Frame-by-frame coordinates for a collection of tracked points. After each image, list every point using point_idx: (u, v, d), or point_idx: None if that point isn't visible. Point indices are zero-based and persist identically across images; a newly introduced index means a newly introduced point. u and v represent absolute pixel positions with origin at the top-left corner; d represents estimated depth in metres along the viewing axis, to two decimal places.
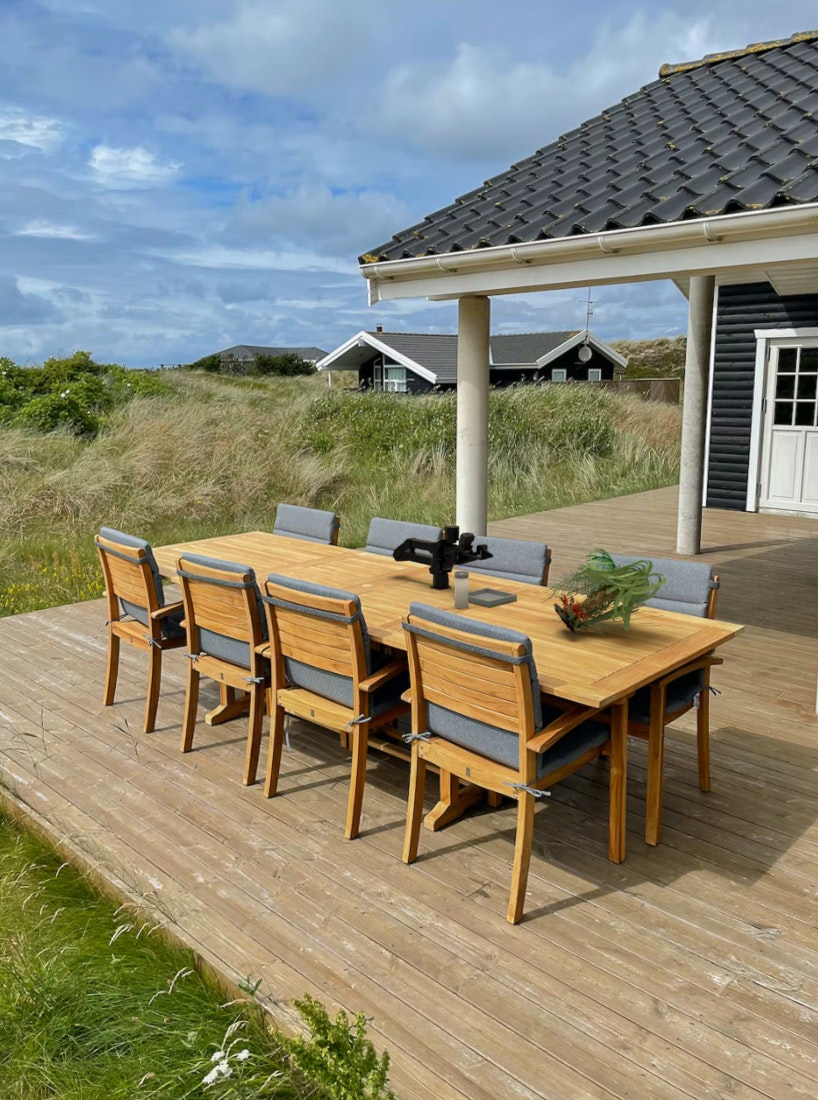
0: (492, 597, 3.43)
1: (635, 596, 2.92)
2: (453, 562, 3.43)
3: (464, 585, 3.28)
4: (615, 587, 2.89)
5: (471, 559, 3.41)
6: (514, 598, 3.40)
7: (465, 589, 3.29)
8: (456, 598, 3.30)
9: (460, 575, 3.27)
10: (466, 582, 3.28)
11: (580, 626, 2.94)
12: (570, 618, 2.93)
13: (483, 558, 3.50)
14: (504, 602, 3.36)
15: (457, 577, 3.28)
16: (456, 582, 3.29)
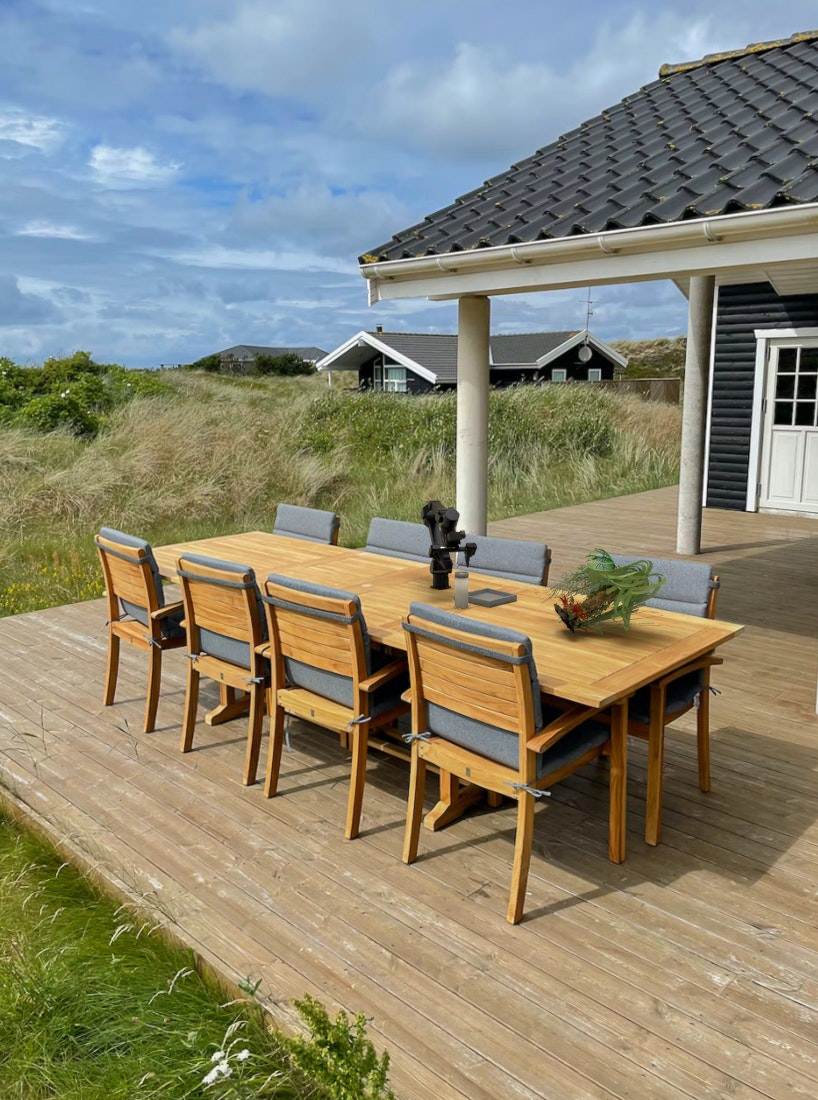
0: (492, 597, 3.43)
1: (635, 596, 2.92)
2: (429, 554, 3.41)
3: (464, 585, 3.28)
4: (615, 587, 2.89)
5: (442, 564, 3.38)
6: (514, 598, 3.40)
7: (465, 589, 3.29)
8: (456, 598, 3.30)
9: (460, 575, 3.27)
10: (466, 582, 3.28)
11: (580, 626, 2.94)
12: (570, 618, 2.93)
13: (465, 558, 3.43)
14: (504, 602, 3.36)
15: (457, 577, 3.28)
16: (456, 582, 3.29)
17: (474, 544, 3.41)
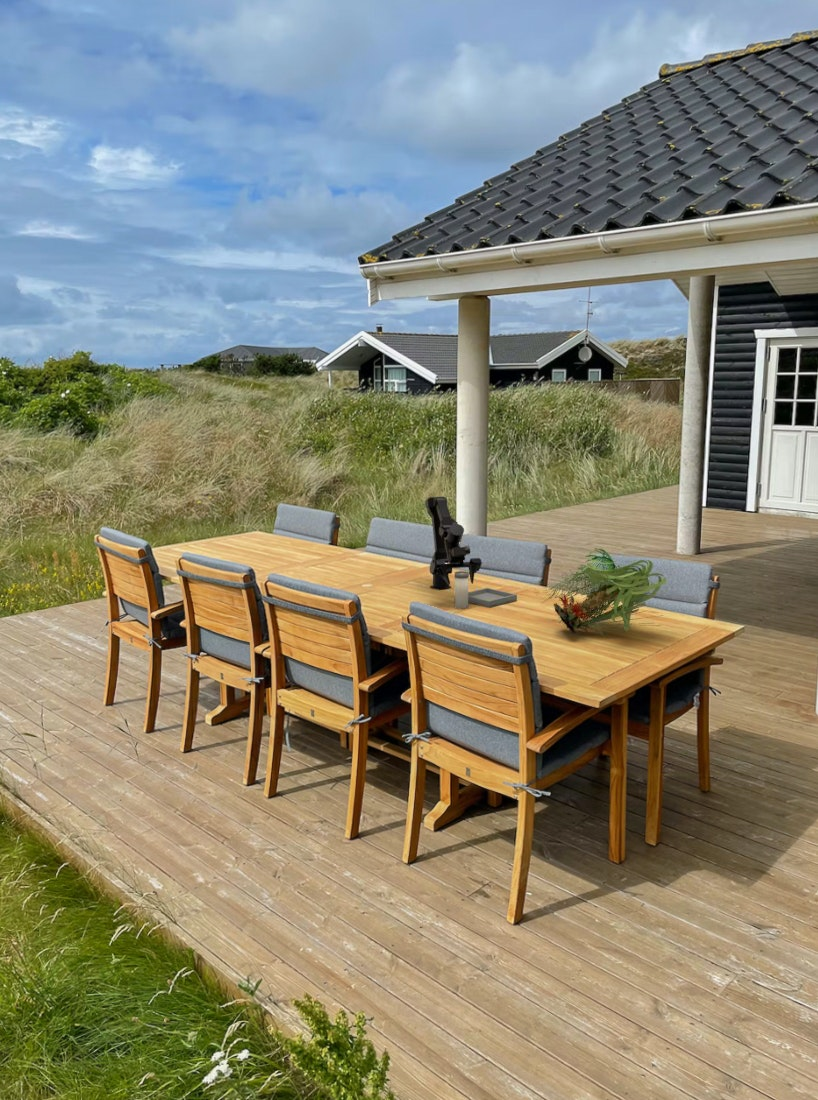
0: (492, 597, 3.43)
1: (635, 596, 2.92)
2: (432, 570, 3.35)
3: (464, 585, 3.28)
4: (615, 587, 2.89)
5: (446, 580, 3.32)
6: (514, 598, 3.40)
7: (466, 589, 3.29)
8: (456, 598, 3.30)
9: (460, 575, 3.27)
10: (466, 582, 3.28)
11: (580, 626, 2.94)
12: (570, 618, 2.93)
13: (469, 574, 3.37)
14: (504, 602, 3.36)
15: (457, 577, 3.28)
16: (456, 582, 3.29)
17: (479, 560, 3.35)
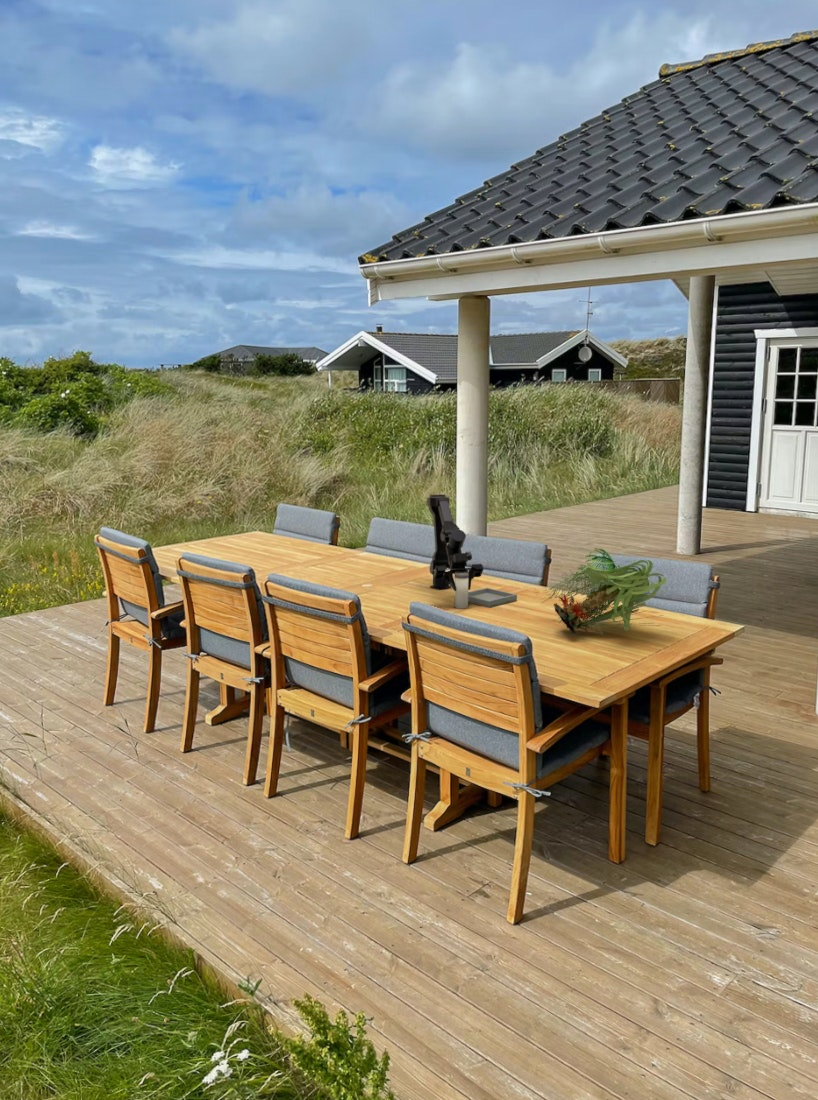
0: (492, 597, 3.43)
1: (635, 596, 2.92)
2: (434, 575, 3.34)
3: (464, 585, 3.28)
4: (615, 587, 2.89)
5: (452, 586, 3.30)
6: (514, 598, 3.40)
7: (465, 588, 3.29)
8: (456, 598, 3.30)
9: (460, 575, 3.27)
10: (466, 582, 3.28)
11: (580, 626, 2.94)
12: (570, 618, 2.93)
13: None
14: (504, 602, 3.36)
15: (457, 577, 3.28)
16: (456, 582, 3.29)
17: (480, 565, 3.33)
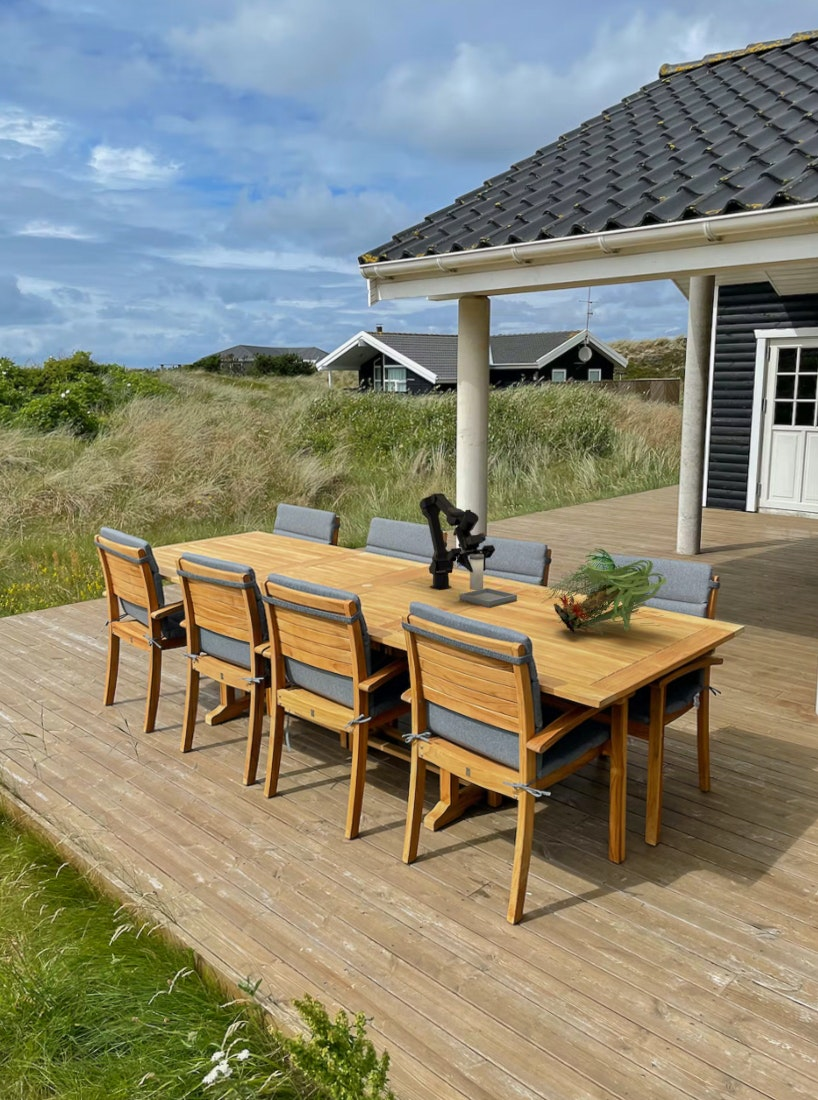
0: (492, 597, 3.43)
1: (635, 596, 2.92)
2: (448, 558, 3.34)
3: (480, 566, 3.31)
4: (615, 587, 2.89)
5: (468, 568, 3.32)
6: (514, 598, 3.40)
7: (482, 570, 3.32)
8: (472, 579, 3.32)
9: (477, 556, 3.30)
10: (482, 563, 3.32)
11: (580, 626, 2.94)
12: (570, 618, 2.93)
13: None
14: (504, 602, 3.36)
15: (474, 559, 3.31)
16: (472, 564, 3.31)
17: (492, 546, 3.38)
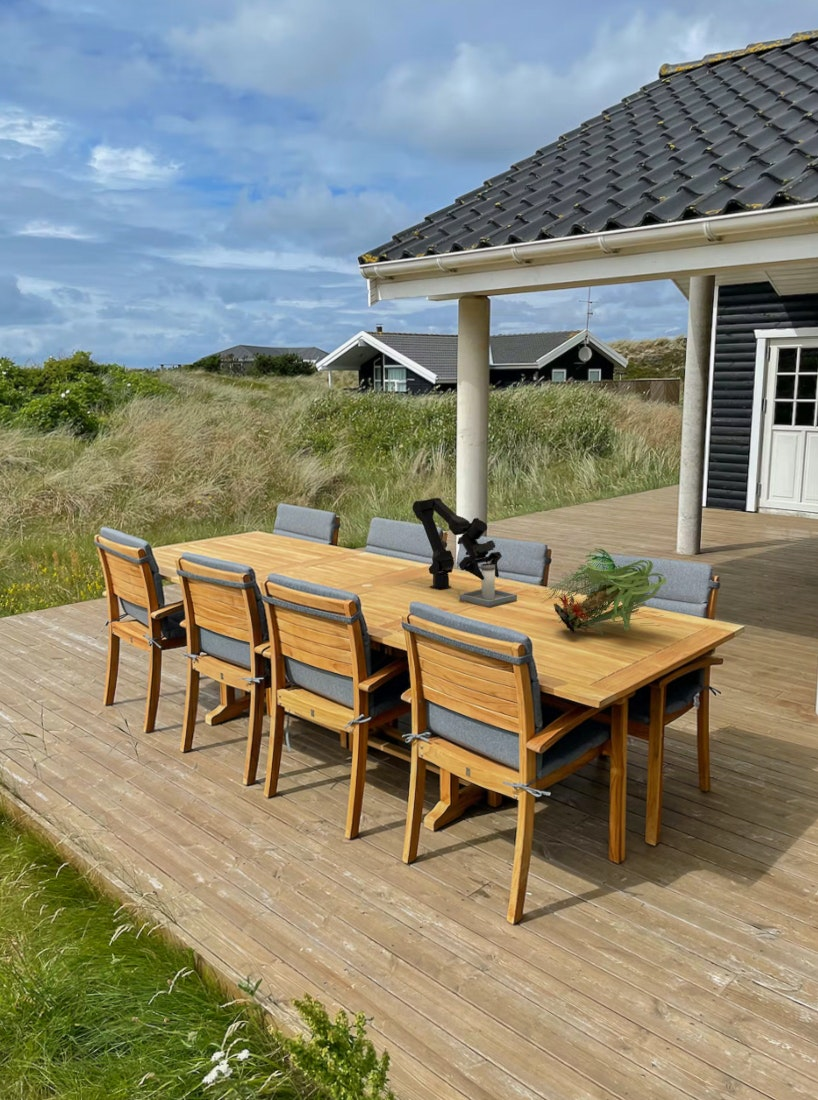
0: None
1: (635, 596, 2.92)
2: (460, 567, 3.38)
3: (493, 577, 3.38)
4: (615, 587, 2.89)
5: (478, 575, 3.37)
6: (514, 598, 3.40)
7: (494, 580, 3.39)
8: (486, 590, 3.39)
9: (490, 567, 3.37)
10: (494, 573, 3.39)
11: (580, 626, 2.94)
12: (570, 618, 2.93)
13: None
14: (504, 602, 3.36)
15: (487, 569, 3.37)
16: (485, 574, 3.37)
17: (499, 553, 3.45)
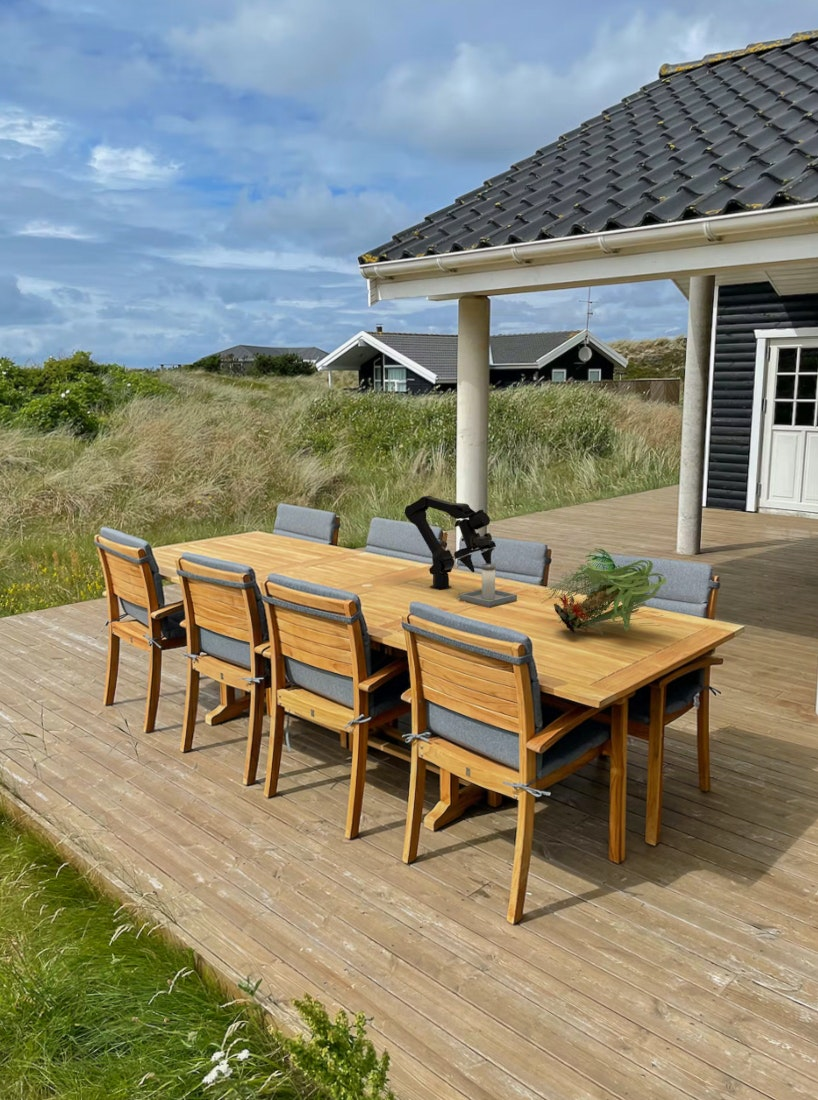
0: None
1: (635, 596, 2.92)
2: (455, 556, 3.45)
3: (493, 576, 3.38)
4: (615, 587, 2.89)
5: (469, 567, 3.46)
6: (514, 598, 3.40)
7: (494, 580, 3.39)
8: (486, 590, 3.39)
9: (490, 567, 3.37)
10: (494, 573, 3.39)
11: (580, 626, 2.94)
12: (570, 618, 2.93)
13: (483, 555, 3.54)
14: (504, 602, 3.36)
15: (487, 569, 3.37)
16: (486, 574, 3.38)
17: (494, 543, 3.52)
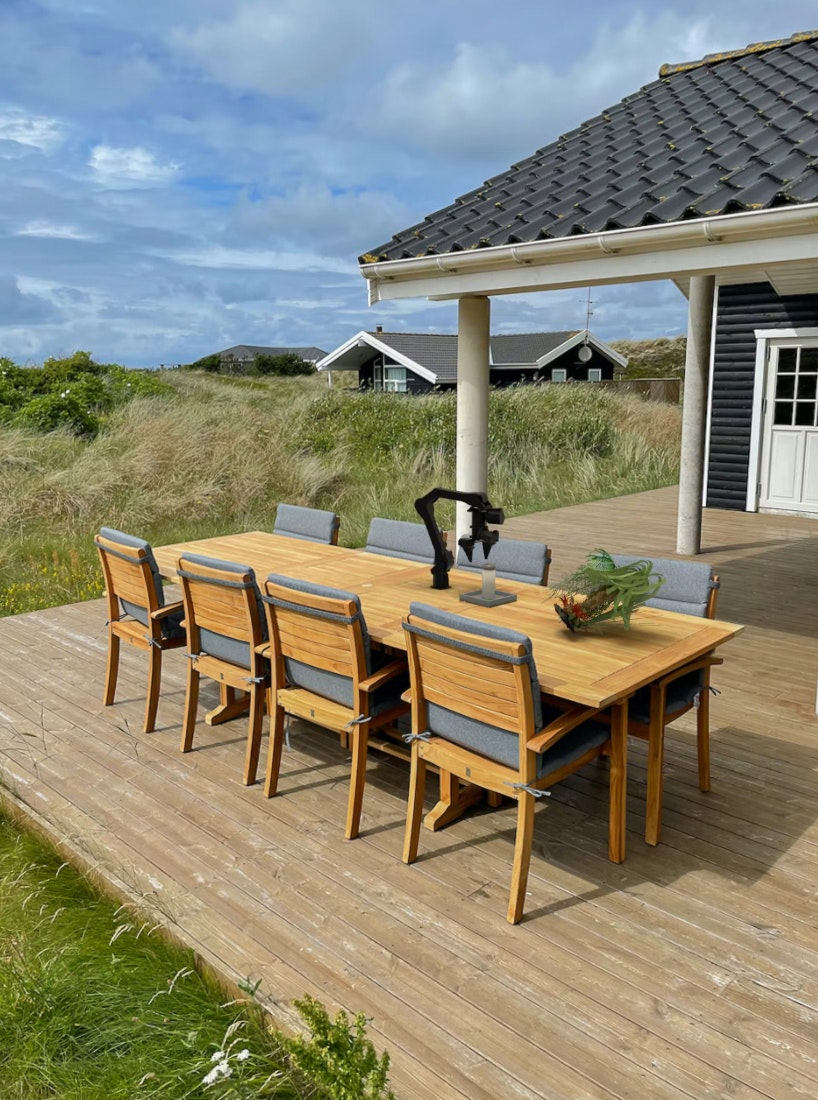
0: None
1: (635, 596, 2.92)
2: (458, 543, 3.48)
3: (493, 576, 3.38)
4: (615, 587, 2.89)
5: (468, 557, 3.50)
6: (514, 598, 3.40)
7: (494, 580, 3.39)
8: (486, 589, 3.39)
9: (491, 567, 3.37)
10: (494, 573, 3.39)
11: (580, 626, 2.94)
12: (570, 618, 2.93)
13: (483, 545, 3.58)
14: (504, 602, 3.36)
15: (487, 569, 3.37)
16: (486, 574, 3.38)
17: (497, 538, 3.56)
